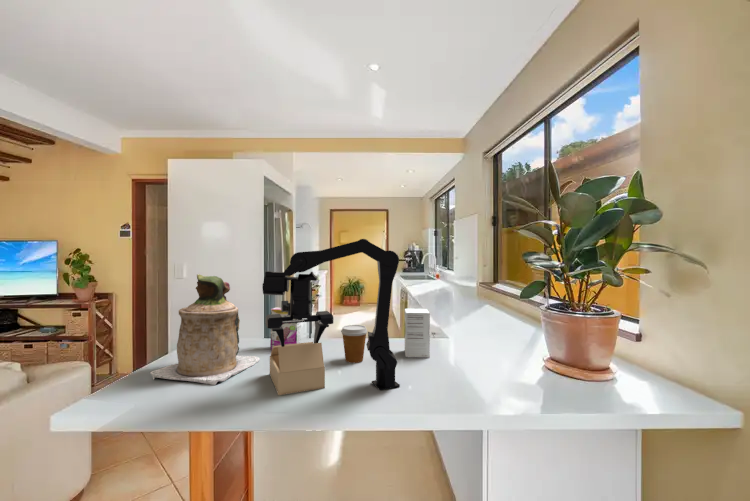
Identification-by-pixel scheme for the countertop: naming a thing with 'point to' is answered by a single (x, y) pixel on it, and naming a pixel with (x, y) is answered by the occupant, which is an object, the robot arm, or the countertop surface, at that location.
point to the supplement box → (417, 333)
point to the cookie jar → (208, 338)
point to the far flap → (275, 348)
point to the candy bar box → (285, 331)
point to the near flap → (300, 357)
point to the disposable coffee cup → (354, 342)
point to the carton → (295, 378)
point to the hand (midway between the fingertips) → (299, 348)
